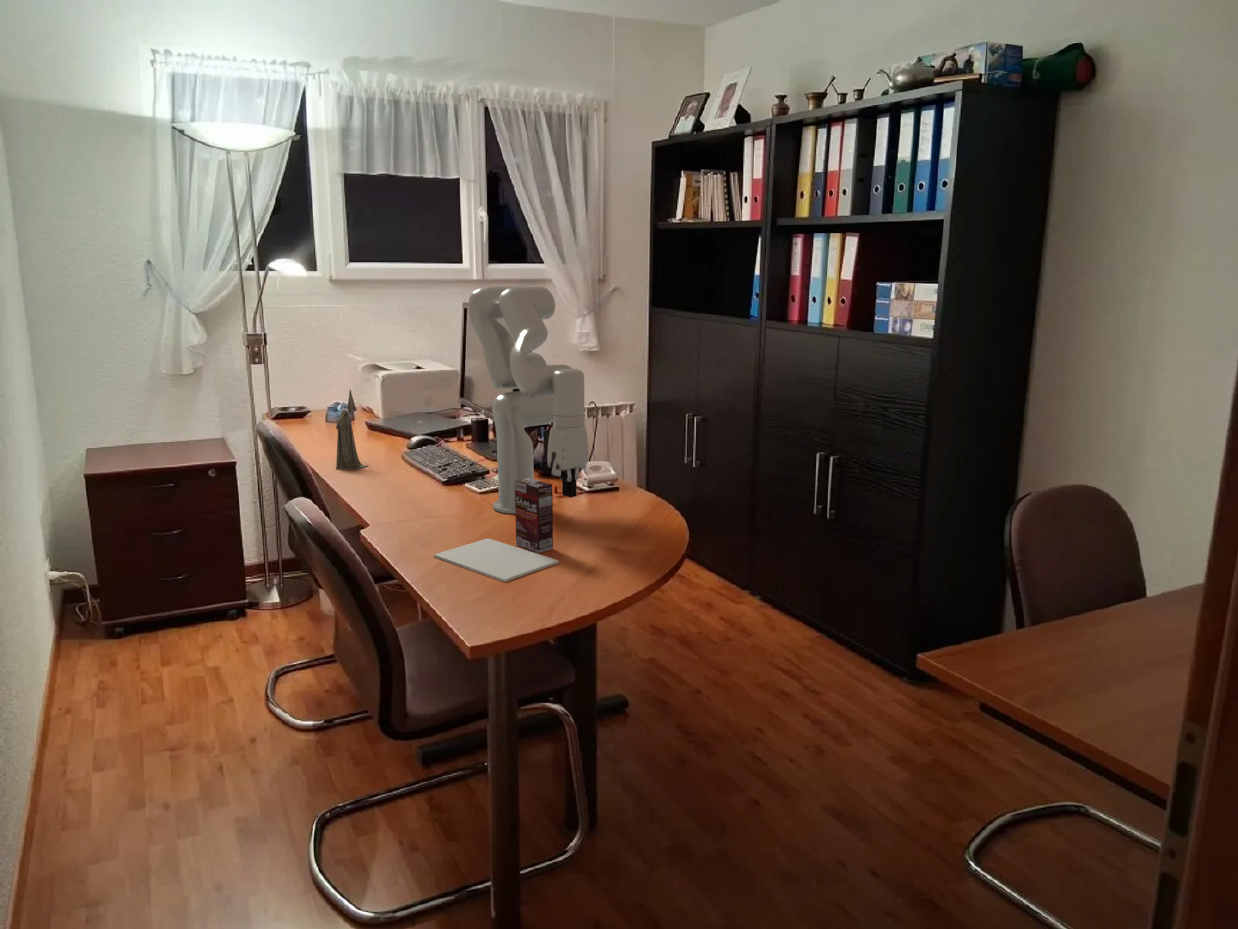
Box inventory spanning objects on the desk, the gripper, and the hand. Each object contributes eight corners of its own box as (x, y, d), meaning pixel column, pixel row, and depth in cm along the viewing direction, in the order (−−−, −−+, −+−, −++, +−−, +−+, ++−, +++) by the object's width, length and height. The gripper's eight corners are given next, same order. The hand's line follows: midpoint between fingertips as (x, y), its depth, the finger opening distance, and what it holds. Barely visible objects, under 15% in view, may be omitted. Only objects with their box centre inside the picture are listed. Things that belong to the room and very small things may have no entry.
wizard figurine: (361, 462, 295) (355, 387, 290) (371, 467, 289) (365, 389, 283) (330, 466, 289) (324, 389, 284) (339, 471, 283) (333, 392, 277)
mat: (487, 540, 215) (487, 538, 215) (558, 563, 200) (558, 560, 200) (433, 557, 204) (433, 554, 203) (504, 582, 188) (504, 579, 188)
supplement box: (514, 545, 212) (513, 480, 208) (530, 541, 215) (529, 476, 212) (538, 554, 206) (537, 487, 202) (554, 549, 209) (553, 483, 206)
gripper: (578, 415, 221) (579, 487, 225) (534, 423, 210) (536, 499, 214) (601, 419, 216) (601, 492, 220) (557, 427, 205) (558, 505, 209)
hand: (569, 495), depth 217 cm, fingers closed
